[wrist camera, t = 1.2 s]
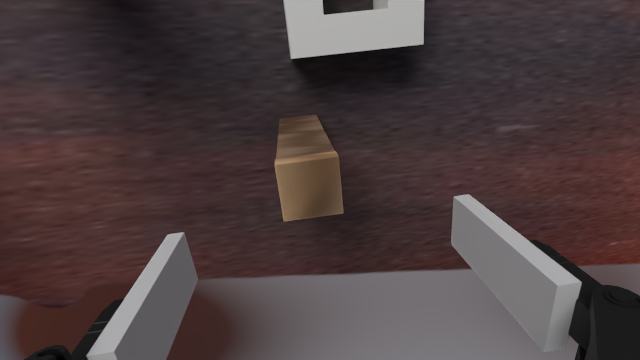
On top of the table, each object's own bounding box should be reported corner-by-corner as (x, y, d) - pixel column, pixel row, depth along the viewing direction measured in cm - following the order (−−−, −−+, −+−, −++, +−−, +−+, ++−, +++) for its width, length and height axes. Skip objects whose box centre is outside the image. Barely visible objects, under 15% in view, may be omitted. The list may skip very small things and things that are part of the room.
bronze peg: (284, 154, 37) (283, 221, 22) (279, 118, 35) (274, 164, 21) (320, 149, 37) (343, 213, 22) (316, 113, 36) (338, 156, 21)
